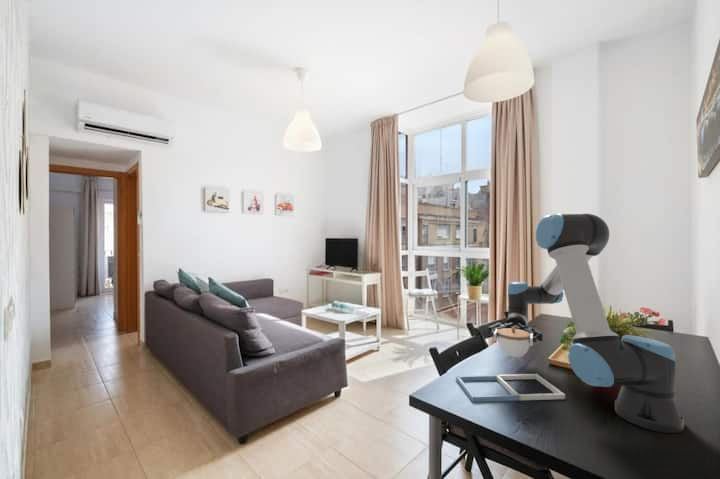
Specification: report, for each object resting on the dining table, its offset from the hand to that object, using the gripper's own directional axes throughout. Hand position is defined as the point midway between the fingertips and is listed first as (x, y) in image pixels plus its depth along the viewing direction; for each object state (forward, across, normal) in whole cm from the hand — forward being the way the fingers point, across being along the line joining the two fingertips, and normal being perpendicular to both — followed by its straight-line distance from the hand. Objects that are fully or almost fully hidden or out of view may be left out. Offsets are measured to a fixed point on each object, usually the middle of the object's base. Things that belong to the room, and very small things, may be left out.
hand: (512, 339), depth 111 cm
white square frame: (-5, -4, -18) cm, 19 cm away
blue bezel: (+2, +8, -18) cm, 20 cm away
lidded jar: (-4, 0, -6) cm, 8 cm away
